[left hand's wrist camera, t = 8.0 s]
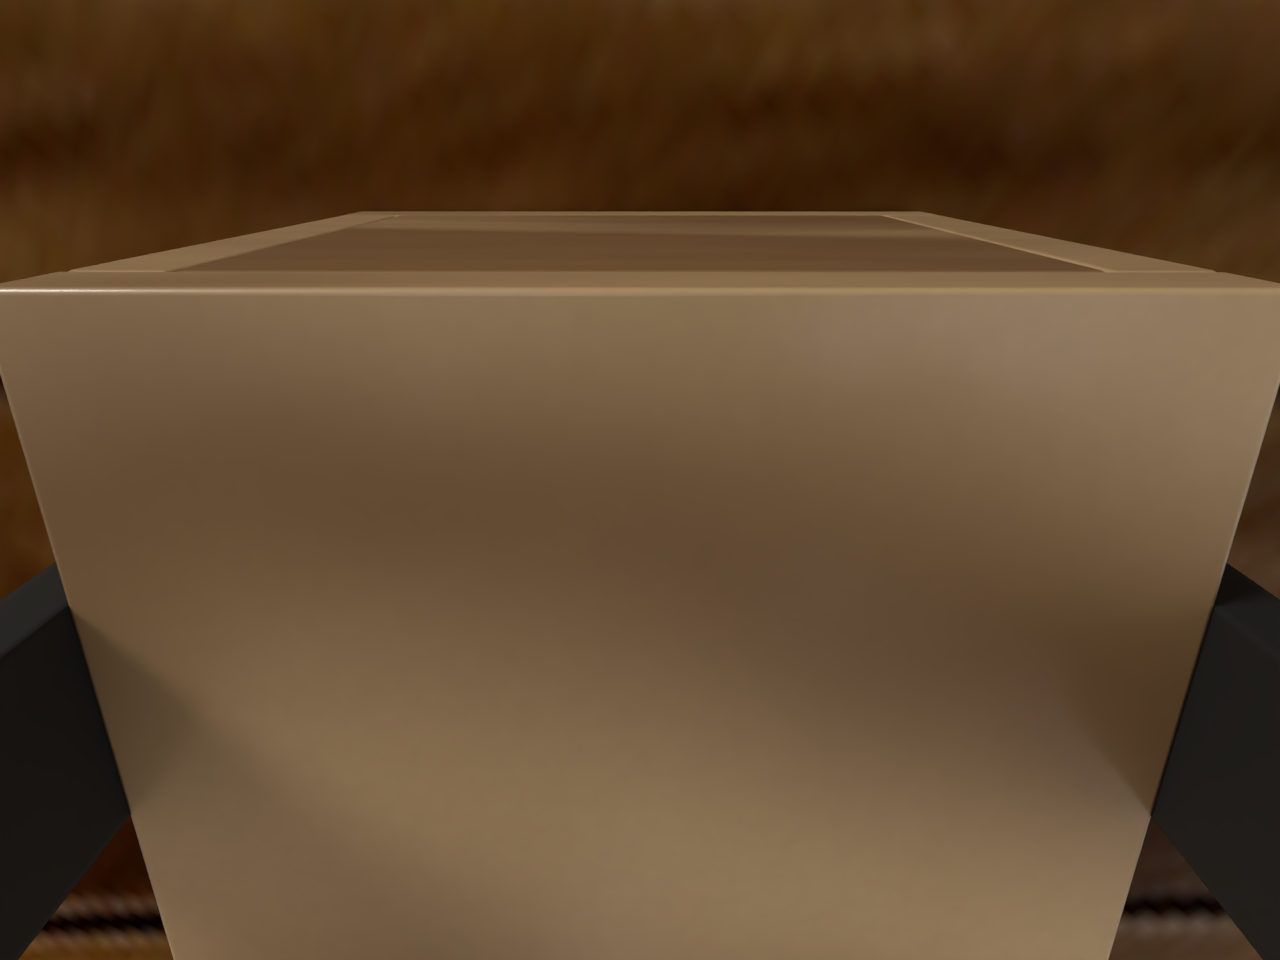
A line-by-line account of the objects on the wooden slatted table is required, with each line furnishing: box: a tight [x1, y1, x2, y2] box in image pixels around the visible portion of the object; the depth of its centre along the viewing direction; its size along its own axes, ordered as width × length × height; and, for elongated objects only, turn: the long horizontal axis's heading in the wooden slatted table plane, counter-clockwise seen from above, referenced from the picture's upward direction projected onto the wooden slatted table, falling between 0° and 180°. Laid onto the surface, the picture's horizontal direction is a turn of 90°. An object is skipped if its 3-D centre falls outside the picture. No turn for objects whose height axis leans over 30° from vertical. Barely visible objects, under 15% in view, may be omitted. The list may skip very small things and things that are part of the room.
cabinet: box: [0, 211, 1280, 960], centre depth 16 cm, size 21×12×10 cm, turn 0°
